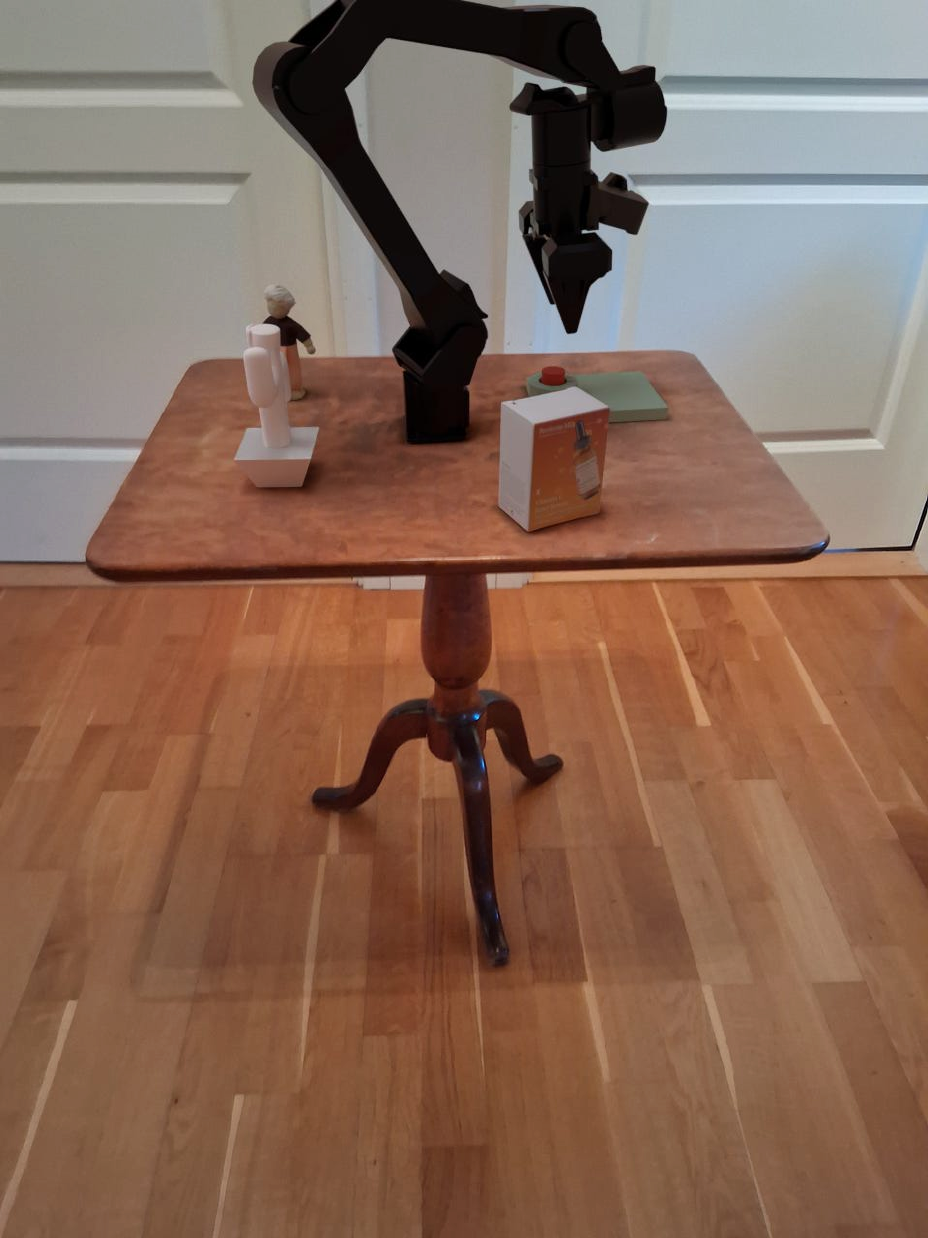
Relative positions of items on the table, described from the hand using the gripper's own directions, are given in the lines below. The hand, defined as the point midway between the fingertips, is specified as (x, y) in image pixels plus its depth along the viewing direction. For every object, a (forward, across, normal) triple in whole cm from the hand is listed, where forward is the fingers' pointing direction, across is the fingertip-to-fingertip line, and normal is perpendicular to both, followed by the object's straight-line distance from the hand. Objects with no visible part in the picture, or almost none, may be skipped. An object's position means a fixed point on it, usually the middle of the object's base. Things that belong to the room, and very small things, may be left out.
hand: (562, 317), depth 97 cm
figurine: (+8, -14, +31) cm, 35 cm away
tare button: (+7, 0, +1) cm, 7 cm away
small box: (+9, -24, +6) cm, 27 cm away
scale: (+10, 0, -4) cm, 11 cm away
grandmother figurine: (+8, +7, +31) cm, 33 cm away
